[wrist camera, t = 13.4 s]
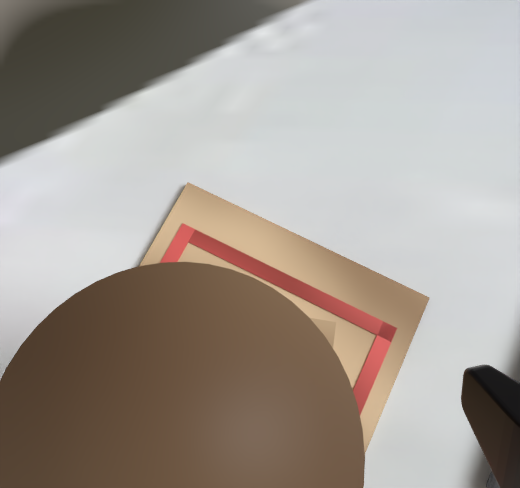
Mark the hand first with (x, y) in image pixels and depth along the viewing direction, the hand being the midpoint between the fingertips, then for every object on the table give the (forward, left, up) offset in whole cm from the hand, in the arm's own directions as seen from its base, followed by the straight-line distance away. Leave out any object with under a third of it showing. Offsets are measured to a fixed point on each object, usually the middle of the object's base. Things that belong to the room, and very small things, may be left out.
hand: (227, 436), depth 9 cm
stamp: (0, 0, -10) cm, 10 cm away
